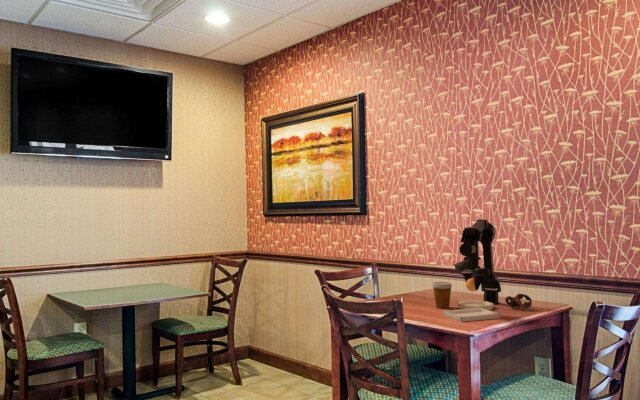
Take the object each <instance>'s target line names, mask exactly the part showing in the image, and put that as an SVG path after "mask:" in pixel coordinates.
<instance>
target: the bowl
mask: <svg viewBox="0 0 640 400" xmlns="http://www.w3.org/2000/svg"><path fill="white" fill-rule="evenodd" d="M456 305H457V307H458V308H459V310H461V309H473V308H483V309H486V310H490V311H492V310H493V309H494V308H493V307H494V306H495V304H494V303H491V302H487V301H484V300H473V299H472V300H469V299H468V300H461V301H458V302H457V304H456Z"/></svg>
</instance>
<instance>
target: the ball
mask: <svg viewBox="0 0 640 400" xmlns="http://www.w3.org/2000/svg"><path fill="white" fill-rule="evenodd" d="M465 287H466V289H467V290H468V291H469V292H476V291H477V290H475V283H474V278H470V279H468V280H467V282H466V281H465Z"/></svg>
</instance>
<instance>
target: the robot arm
mask: <svg viewBox="0 0 640 400" xmlns="http://www.w3.org/2000/svg"><path fill="white" fill-rule="evenodd" d="M495 236H496V228H495V226H494V224H492V223H490V222H489V221H488V220H487V219H484V218H483V219H477V220H475V223H473V224H472V225H471V226H466V227H464V228H463V230H462V235H461V238H460V243H461V244H460V246H459V249H458V250H459V254H460V255H462V256H463V258H462V259H463V260H460V261H458V262H456V263H455V264H454V265H453V266H454V270H455V271H456V272H457V273H459V274H460V275H461V276H462V277H463V278H464V281H465V283H466V282H467V280H468V279H470V278H474V283H475V290H476V291H478V290H479V288H481V291H482V292H483V301H487V302H491V303H494V305H499V304H501V302H499V293H501V292H502V286H501V283H500V280H499V276H498V275H497V274H496V271H495V270H494V268H495V267H494V258H493V257H494V255H493V244H492V243H493V242H494V240H495V239H496V237H495ZM479 242H480V244H481V245H482V257H483V259H482V257H480V256H479V253H480V252H479V251H480V250H479ZM481 259H482V260H483V267H482V266H480V264H479V263H480V260H481Z"/></svg>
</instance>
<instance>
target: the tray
mask: <svg viewBox="0 0 640 400" xmlns="http://www.w3.org/2000/svg"><path fill="white" fill-rule="evenodd" d="M501 315H502V314H501V313H499V312H496V311H493V310H486V309H483V308H473V309H453V310H452V309H451V310H443V311H442V316H444V317H446V318H449V319H452V320H455V321H457V322H460V323H461V322H473V321H474V322H475V321H484V320H493V319H494V320H495V319H501V318H502V317H501Z"/></svg>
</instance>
